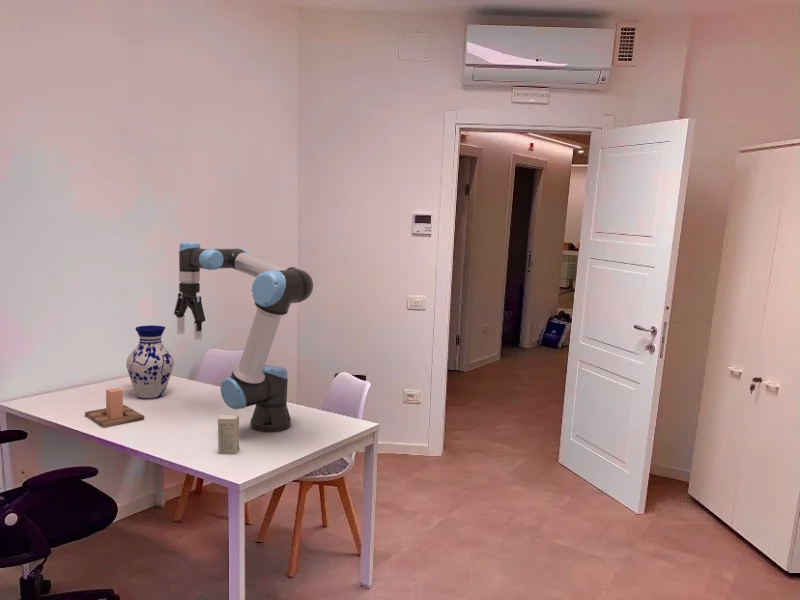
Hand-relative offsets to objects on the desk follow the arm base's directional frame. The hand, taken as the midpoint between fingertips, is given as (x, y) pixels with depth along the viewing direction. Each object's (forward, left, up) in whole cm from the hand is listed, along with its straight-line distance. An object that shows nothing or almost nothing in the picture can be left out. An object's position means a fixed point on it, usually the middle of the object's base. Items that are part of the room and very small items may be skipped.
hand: (189, 336), depth 234 cm
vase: (+34, 0, -32) cm, 47 cm away
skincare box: (-43, +8, -32) cm, 54 cm away
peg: (+14, +23, -32) cm, 42 cm away
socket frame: (+14, +23, -32) cm, 42 cm away
